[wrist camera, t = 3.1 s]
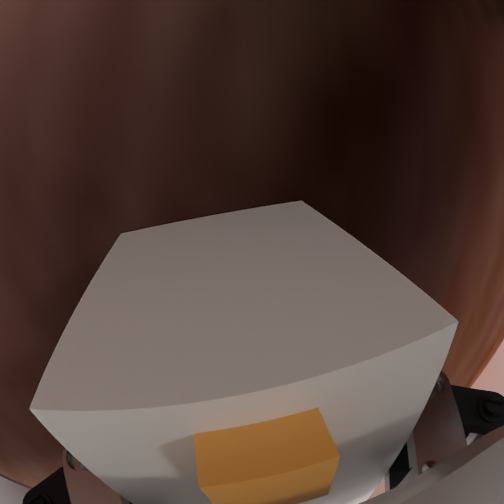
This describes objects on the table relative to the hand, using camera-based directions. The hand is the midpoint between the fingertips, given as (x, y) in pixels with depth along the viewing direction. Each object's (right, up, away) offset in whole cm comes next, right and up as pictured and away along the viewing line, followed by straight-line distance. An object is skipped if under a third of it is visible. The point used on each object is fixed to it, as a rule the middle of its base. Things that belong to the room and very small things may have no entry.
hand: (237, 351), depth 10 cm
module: (0, +1, +1) cm, 2 cm away
